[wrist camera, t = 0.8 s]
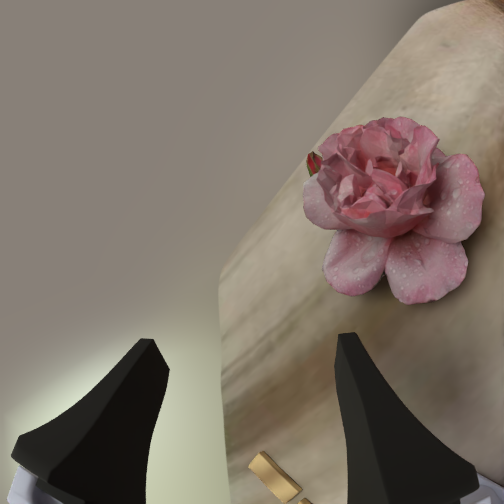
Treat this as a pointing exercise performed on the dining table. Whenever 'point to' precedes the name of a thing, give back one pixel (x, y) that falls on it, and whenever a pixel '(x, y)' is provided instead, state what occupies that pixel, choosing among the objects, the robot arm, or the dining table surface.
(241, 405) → the dining table surface
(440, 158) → the flower
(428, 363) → the dining table surface
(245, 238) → the dining table surface
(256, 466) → the spatula
